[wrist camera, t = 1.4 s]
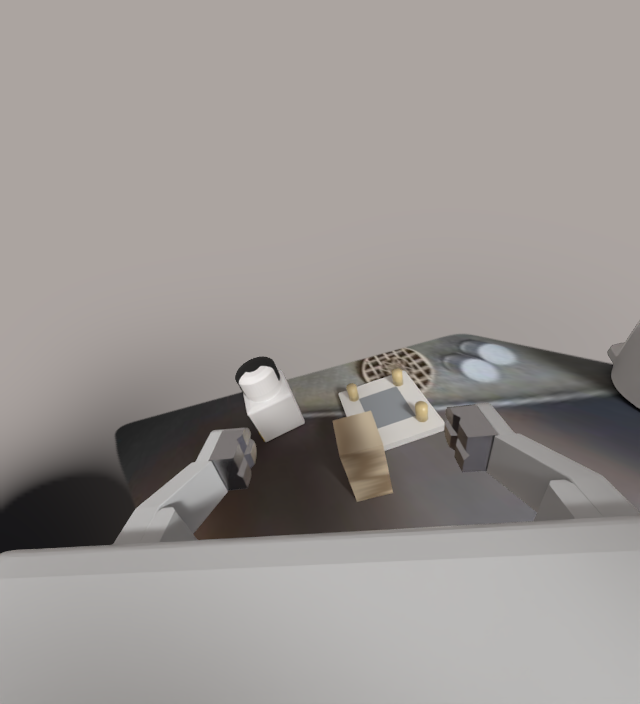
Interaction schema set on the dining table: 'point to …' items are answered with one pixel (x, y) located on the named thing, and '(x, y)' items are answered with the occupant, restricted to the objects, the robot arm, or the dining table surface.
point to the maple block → (363, 455)
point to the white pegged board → (394, 408)
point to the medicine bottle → (268, 398)
